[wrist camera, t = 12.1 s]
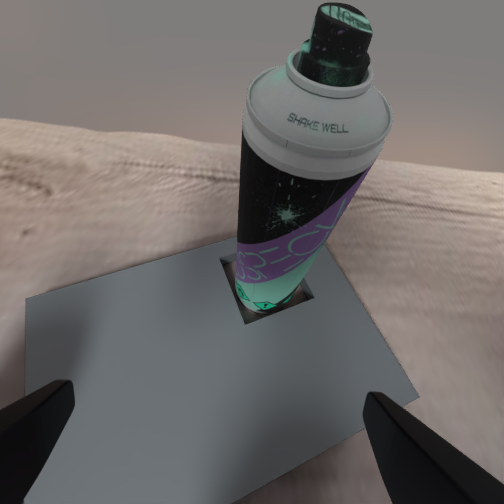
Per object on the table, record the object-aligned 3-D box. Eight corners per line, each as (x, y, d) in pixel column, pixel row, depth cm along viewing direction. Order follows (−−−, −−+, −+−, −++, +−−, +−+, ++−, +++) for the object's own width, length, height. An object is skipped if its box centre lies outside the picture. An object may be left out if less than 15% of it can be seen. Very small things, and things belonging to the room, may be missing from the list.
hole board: (407, 397, 21) (419, 396, 19) (41, 602, 14) (22, 622, 13) (303, 224, 29) (307, 215, 27) (37, 304, 22) (25, 298, 21)
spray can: (226, 271, 25) (217, -19, 8) (276, 253, 26) (365, -27, 9) (249, 324, 23) (313, 79, 5) (302, 300, 24) (491, 48, 7)
